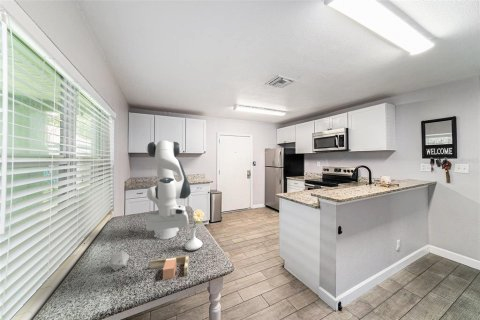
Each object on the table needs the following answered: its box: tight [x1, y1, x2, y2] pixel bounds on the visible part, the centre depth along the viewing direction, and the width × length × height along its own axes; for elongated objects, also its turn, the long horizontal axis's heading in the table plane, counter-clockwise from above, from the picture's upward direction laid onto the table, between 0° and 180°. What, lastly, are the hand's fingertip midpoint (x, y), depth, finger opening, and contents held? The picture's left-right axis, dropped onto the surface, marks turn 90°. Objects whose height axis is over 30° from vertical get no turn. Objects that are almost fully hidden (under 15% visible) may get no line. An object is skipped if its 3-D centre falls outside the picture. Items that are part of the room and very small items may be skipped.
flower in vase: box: [184, 209, 205, 251], centre depth 117 cm, size 13×11×25 cm
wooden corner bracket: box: [149, 254, 190, 277], centre depth 93 cm, size 12×20×4 cm, turn 103°
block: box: [162, 258, 177, 281], centre depth 92 cm, size 5×9×5 cm, turn 13°
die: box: [108, 250, 130, 272], centre depth 98 cm, size 8×9×10 cm
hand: (168, 236), depth 92 cm, fingers open, 8 cm apart
